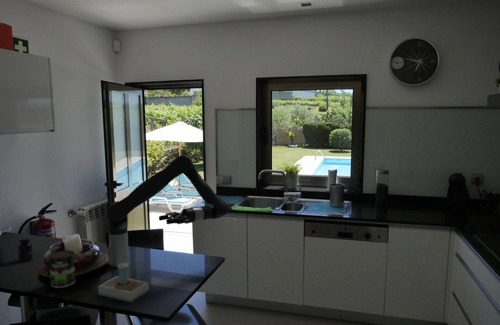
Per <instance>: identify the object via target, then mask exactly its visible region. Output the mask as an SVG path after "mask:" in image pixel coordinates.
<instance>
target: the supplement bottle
mask: <svg viewBox="0 0 500 325" xmlns="http://www.w3.org/2000/svg"><path fill="white" fill-rule="evenodd" d="M17 255H18V256H17V257H18V262H19V263H29V262H30V261H33V259H34V250H33V243H32V242H31V237H22V238H20V239H19V244H18V245H17Z"/></svg>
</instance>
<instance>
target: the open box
mask: <svg viewBox="0 0 500 325" xmlns="http://www.w3.org/2000/svg"><path fill="white" fill-rule="evenodd" d="M149 287H150V286H149V282H148V281H144V280H143V281H142V280H137V279H133V278H129V284H128V285H125V286H119V275H116V276H114V277H113V278H111V279H109V280H107V281H105V282H103V283H101V284H99V285H98V295H99V296H103V297H106V298H112V299H115V300H121V301H125V302H129V303H134V302H135V301H137V300H138V299H140V298H141V297H142V296H144V295H146V292H147V293H148V292H149V291H150V288H149Z"/></svg>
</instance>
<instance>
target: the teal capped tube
mask: <svg viewBox="0 0 500 325" xmlns="http://www.w3.org/2000/svg"><path fill="white" fill-rule="evenodd" d="M129 267H130V263H127V262H123V263H119V264H118V265H117V267H116V268H117V271H118V276H119V286H125V285H128V284H129V279H130V277H129Z"/></svg>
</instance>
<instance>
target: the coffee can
mask: <svg viewBox="0 0 500 325" xmlns="http://www.w3.org/2000/svg"><path fill="white" fill-rule="evenodd" d="M48 258H49V275H50V287H51V286H52V288H53V287H54V288H55V289H62V288H67V287H70V286H72V285H73V284H75V283H76V272H75V267H74V259H75V252H74V251H73V250H59V251H54V252H52V253H51V254H49V256H48ZM54 288H53V289H54Z"/></svg>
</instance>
